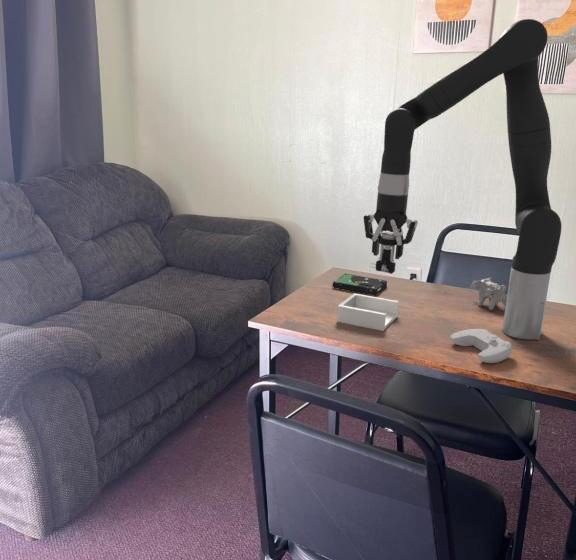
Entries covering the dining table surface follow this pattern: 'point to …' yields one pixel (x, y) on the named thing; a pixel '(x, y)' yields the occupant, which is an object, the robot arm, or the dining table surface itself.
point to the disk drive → (360, 284)
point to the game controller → (483, 344)
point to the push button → (386, 253)
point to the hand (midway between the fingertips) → (386, 256)
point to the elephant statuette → (490, 292)
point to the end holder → (368, 311)
